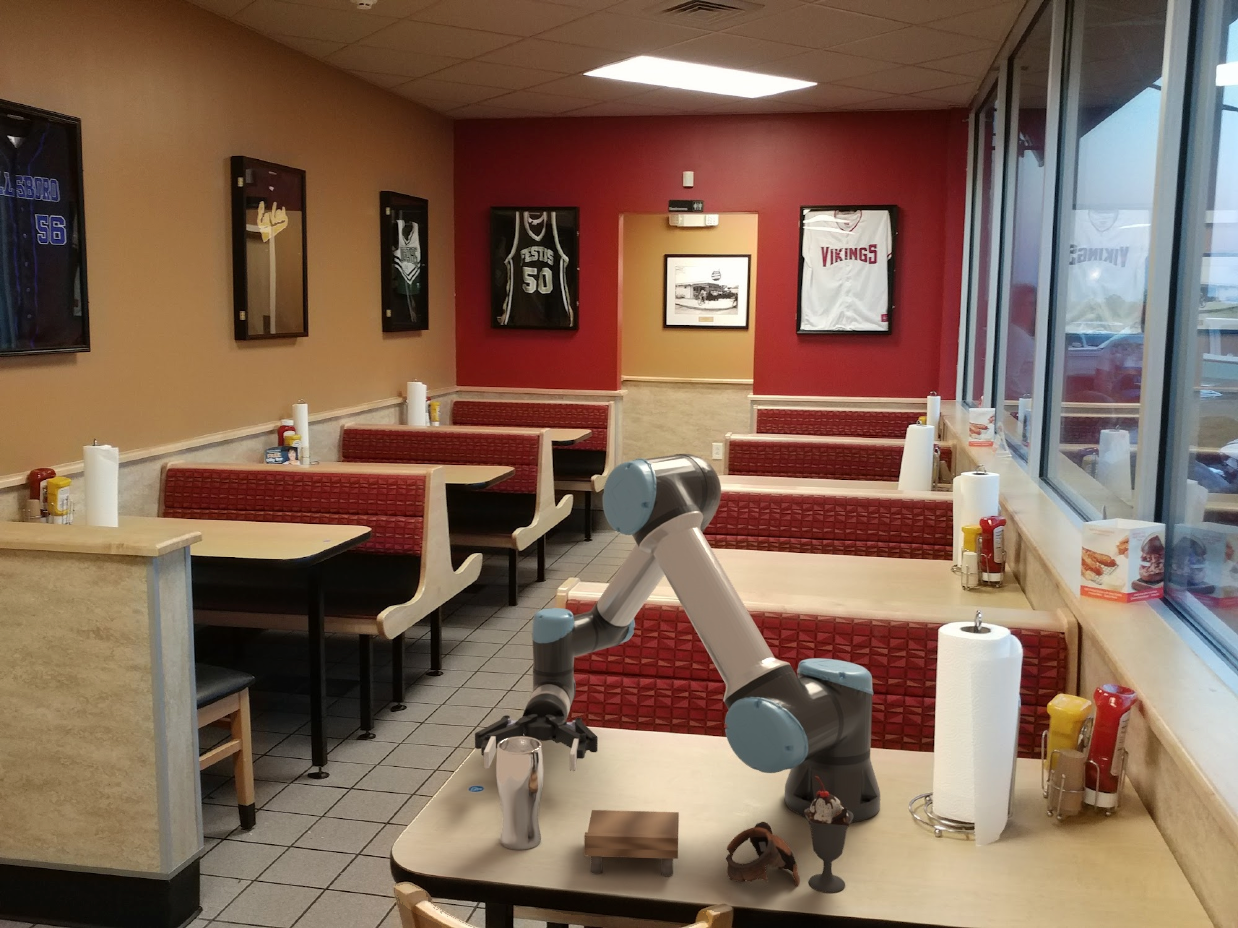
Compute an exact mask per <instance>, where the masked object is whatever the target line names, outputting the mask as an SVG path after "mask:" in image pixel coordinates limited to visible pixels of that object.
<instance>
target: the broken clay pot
mask: <svg viewBox="0 0 1238 928" xmlns="http://www.w3.org/2000/svg"><path fill="white" fill-rule="evenodd" d="M746 841H749V842H750V844H751V845H752V847H753V848H754V850H755V852H756V855H757V858H756V859H754V860H751V861H749V862H746V863H739V862H736V861H734V859H733V857H734V855H735V853H736V851H737V850H738V848H739V847H740V846H742V844H744V843H745V842H746ZM726 851H727V852H728V854H727V855H726V856H725V861H726V862H727V863H726V873H727V877H728V879H729V880H731V881H732V880H733V881H736V882H739V883H745V882H747V883H748V882H749V883H750V882H753V881H756V880H757V881H758V880H762V881H765V882H769V879H768V873H767V872H768V871H767V866H769V867H771V868H778V869H779V870H788V871H790V872H791V873H792V874H791V875H792V878H793V879H794V885H795V886H796V887H799V886H800V881H801V879H800V875H799V871H798V870H799V869H798V864H797V861H796V858H795V856H794V853H793V852H792V850H791V848H790V847H789V845H788V844H787V843H786V841H784V839H782V838H781V837H780V836H777V835H776V834H773V830H772V827H771V825H770V824H769V823H768V822H767V821H761V822H757V823H756V824H755V826H754V827H749V828H747V829H744V830H743V831H741V832H739V833H738V834H737V835H735V836H734V837H733V838H732V839H731V841H730V842H729V844H727V848H726Z"/></svg>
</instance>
